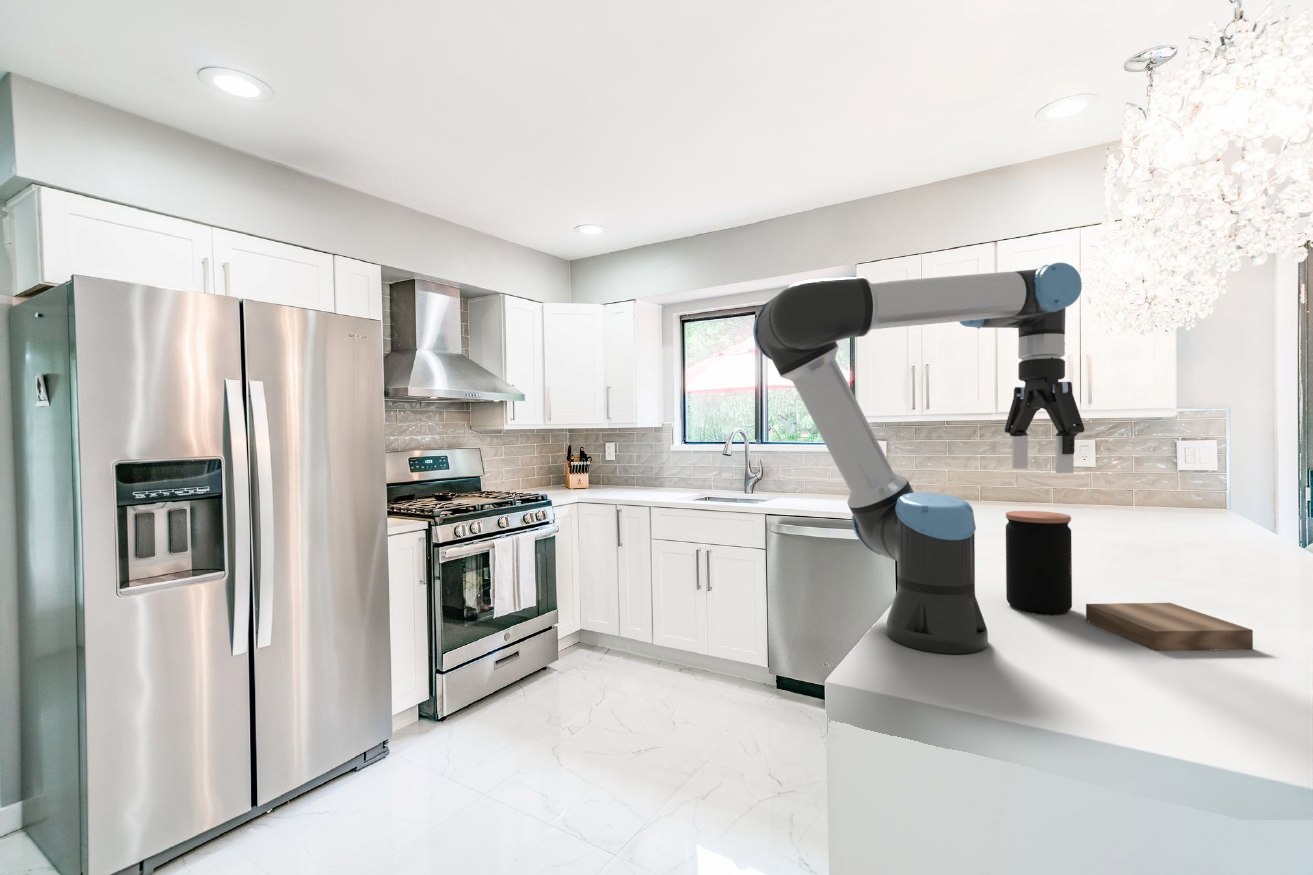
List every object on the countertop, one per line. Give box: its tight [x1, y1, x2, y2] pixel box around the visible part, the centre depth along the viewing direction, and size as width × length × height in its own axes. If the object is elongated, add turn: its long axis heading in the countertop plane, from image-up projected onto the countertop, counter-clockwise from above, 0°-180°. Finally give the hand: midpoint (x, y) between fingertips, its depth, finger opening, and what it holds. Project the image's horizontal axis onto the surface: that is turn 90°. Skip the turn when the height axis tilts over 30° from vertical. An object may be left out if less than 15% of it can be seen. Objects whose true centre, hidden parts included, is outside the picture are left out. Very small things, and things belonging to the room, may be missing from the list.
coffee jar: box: [1005, 510, 1073, 616], centre depth 116 cm, size 11×11×18 cm
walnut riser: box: [1085, 602, 1254, 652], centre depth 101 cm, size 15×15×3 cm
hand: (1040, 470), depth 116 cm, fingers open, 13 cm apart
